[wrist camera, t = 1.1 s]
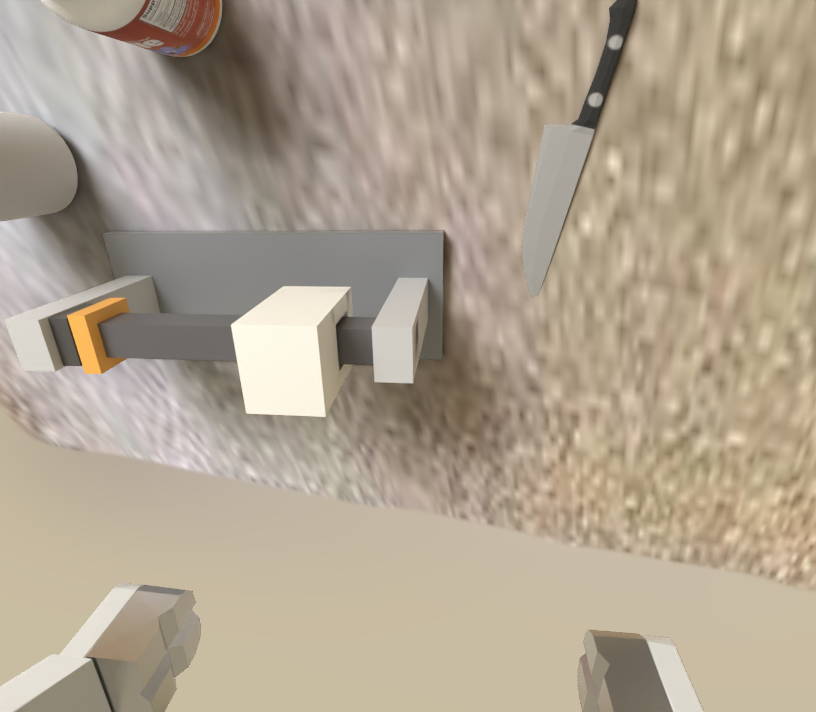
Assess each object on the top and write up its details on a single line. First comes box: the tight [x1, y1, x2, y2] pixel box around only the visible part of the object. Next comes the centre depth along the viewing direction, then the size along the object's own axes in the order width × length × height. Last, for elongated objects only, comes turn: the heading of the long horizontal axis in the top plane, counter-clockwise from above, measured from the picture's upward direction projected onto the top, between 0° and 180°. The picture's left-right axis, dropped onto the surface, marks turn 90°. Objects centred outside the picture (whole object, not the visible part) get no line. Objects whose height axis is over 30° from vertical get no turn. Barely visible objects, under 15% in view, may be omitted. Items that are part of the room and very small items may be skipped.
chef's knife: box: [522, 0, 637, 298], centre depth 30 cm, size 19×1×3 cm
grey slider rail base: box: [4, 230, 444, 383], centre depth 30 cm, size 24×9×11 cm, turn 91°
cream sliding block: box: [231, 286, 353, 417], centre depth 25 cm, size 4×5×7 cm
